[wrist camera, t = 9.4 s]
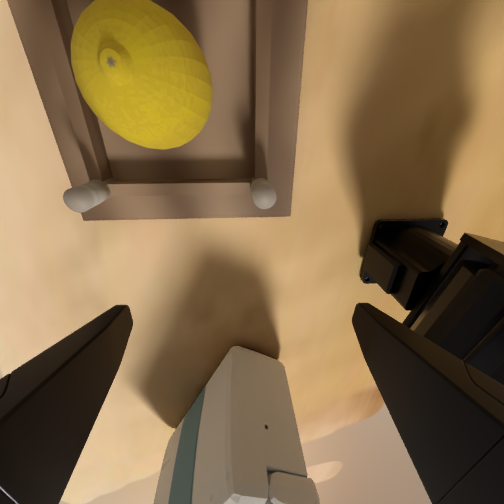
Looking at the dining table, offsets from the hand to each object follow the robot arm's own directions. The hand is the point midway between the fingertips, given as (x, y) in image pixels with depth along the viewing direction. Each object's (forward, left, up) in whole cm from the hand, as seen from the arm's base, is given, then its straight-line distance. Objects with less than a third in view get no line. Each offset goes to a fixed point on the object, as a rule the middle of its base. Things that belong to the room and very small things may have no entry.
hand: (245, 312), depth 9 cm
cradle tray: (+4, -8, -12) cm, 15 cm away
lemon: (+4, -8, -11) cm, 14 cm away
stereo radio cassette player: (+3, +25, -12) cm, 28 cm away
